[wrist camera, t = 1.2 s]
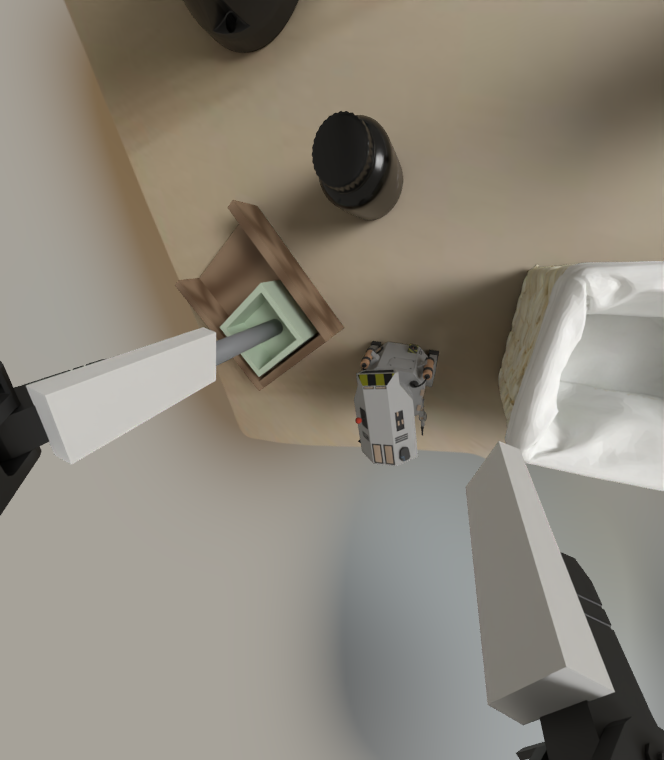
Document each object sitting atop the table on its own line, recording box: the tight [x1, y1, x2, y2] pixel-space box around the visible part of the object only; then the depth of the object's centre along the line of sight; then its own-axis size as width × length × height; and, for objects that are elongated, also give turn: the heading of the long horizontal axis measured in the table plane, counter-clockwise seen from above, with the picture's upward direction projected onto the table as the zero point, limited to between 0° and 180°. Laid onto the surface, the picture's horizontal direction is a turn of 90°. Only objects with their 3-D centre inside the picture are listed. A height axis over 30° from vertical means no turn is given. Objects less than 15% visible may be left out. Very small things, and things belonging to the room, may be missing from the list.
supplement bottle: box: [312, 111, 403, 220], centre depth 26 cm, size 7×7×12 cm
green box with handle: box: [216, 280, 318, 377], centre depth 35 cm, size 9×10×15 cm
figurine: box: [354, 341, 439, 466], centre depth 32 cm, size 9×12×15 cm
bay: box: [175, 200, 344, 391], centre depth 40 cm, size 20×16×5 cm
